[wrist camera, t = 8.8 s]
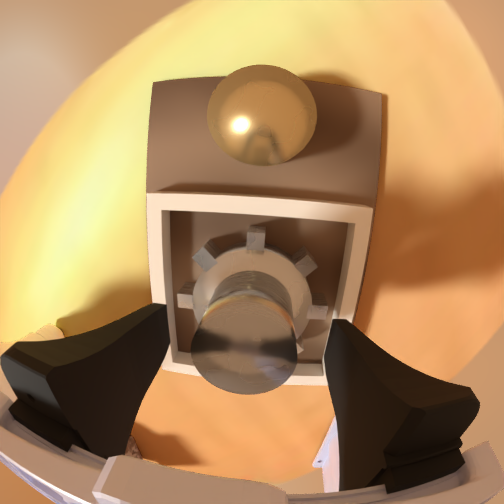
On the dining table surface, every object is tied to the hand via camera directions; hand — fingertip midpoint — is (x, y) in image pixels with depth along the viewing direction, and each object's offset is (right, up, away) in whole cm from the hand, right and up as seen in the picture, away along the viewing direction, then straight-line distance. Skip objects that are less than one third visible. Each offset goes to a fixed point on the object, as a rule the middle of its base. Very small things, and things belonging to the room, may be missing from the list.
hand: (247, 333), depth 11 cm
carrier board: (0, +4, +3) cm, 5 cm away
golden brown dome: (+1, +10, +1) cm, 10 cm away
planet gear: (0, +1, +3) cm, 4 cm away
